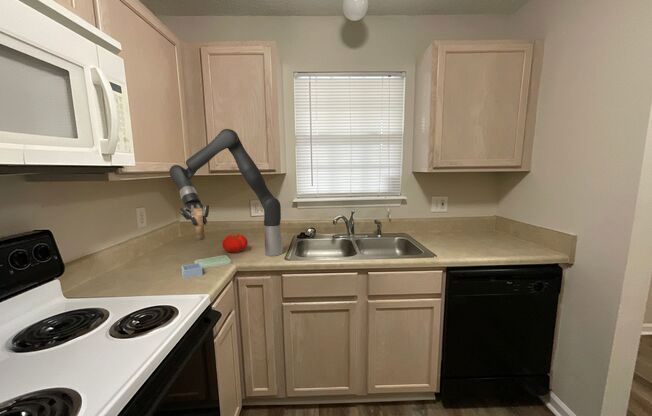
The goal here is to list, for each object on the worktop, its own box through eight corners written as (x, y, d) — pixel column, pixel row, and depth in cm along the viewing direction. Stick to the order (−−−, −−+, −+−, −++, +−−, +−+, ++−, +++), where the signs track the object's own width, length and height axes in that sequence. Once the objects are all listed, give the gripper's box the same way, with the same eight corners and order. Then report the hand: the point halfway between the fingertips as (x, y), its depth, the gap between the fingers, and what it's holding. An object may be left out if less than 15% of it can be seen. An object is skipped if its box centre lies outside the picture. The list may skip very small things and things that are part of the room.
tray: (226, 258, 151) (225, 254, 151) (231, 264, 141) (231, 260, 141) (194, 264, 143) (194, 260, 142) (197, 271, 133) (197, 267, 132)
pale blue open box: (200, 271, 132) (199, 262, 132) (202, 276, 126) (202, 267, 125) (182, 275, 128) (181, 265, 127) (184, 280, 122) (183, 270, 121)
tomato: (243, 246, 176) (242, 231, 175) (251, 252, 162) (250, 236, 161) (219, 250, 168) (218, 234, 167) (226, 256, 155) (224, 239, 153)
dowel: (204, 238, 134) (201, 207, 132) (205, 239, 131) (202, 208, 129) (196, 239, 132) (193, 208, 130) (197, 240, 129) (194, 209, 127)
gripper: (175, 193, 129) (186, 221, 122) (205, 191, 138) (217, 217, 131) (173, 203, 133) (183, 231, 126) (202, 200, 143) (214, 226, 136)
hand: (200, 224), depth 129 cm, fingers closed on dowel, 3 cm apart
